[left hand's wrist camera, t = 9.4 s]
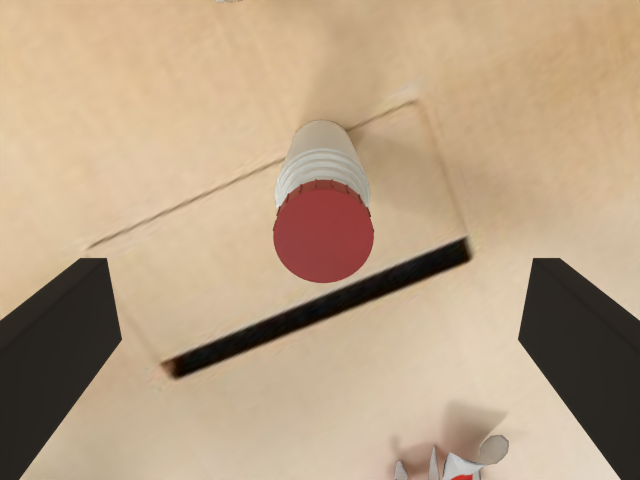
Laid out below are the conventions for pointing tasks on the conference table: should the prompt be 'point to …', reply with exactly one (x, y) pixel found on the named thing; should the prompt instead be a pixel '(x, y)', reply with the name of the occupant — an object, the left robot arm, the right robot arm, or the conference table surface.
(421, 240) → the conference table surface
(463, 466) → the fish
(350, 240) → the cap
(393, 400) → the conference table surface
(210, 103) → the conference table surface
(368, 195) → the bottle
